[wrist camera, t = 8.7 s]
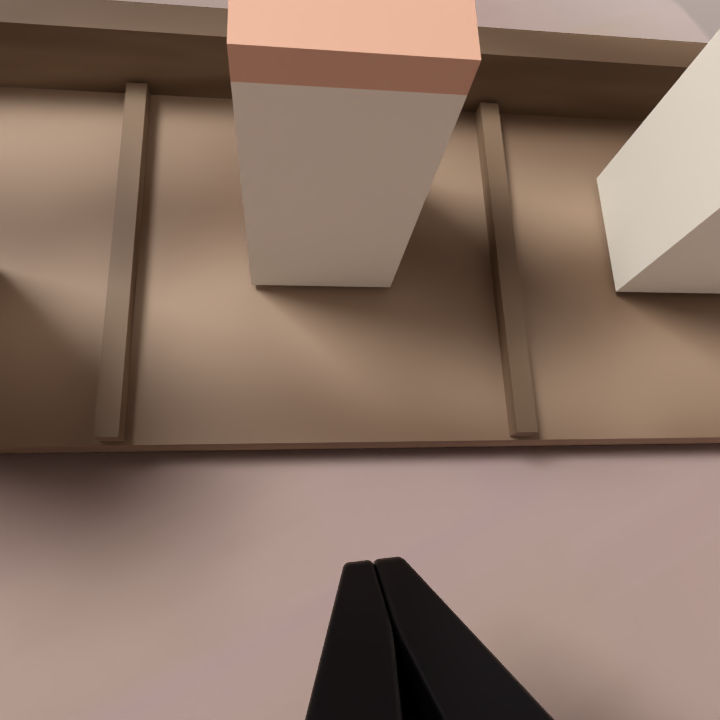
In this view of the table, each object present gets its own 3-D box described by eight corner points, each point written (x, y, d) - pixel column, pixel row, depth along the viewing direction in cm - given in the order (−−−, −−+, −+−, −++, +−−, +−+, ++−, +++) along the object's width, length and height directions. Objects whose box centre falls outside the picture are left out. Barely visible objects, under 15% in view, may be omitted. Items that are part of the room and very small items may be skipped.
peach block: (390, 287, 18) (481, 60, 10) (251, 284, 18) (226, 43, 10) (383, 169, 20) (460, -121, 11) (253, 163, 19) (233, -144, 11)
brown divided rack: (740, 442, 20) (834, 418, 16) (-181, 456, 16) (-299, 428, 13) (669, 119, 23) (734, 45, 20) (-96, 76, 20) (-171, -20, 17)
